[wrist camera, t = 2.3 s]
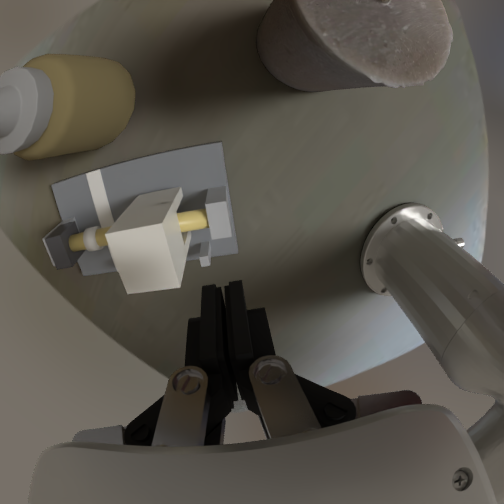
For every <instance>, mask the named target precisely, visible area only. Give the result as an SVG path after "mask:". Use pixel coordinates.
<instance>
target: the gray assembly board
mask: <svg viewBox="0 0 504 504" xmlns="http://www.w3.org/2000/svg"><path fill="white" fill-rule="evenodd" d="M51 186H52V189H53V193H54V196H55V200H56V203H57V206H58V209H59V212H60V216H61V219H62V222H60V223H59V224H58V225H57V226H56V227H55V228H54V229H53V230H51V231H50V232H49V233H48V234H47V235H46V236H45V237H44V238H43V242H44V244H45V247H46V249H47V252H48V254H49V256H50V259H51V261H52V263H53V266H56V268H57V270H58V269H63V268H69V267H73V266H74V264H75V263H76V262H77V261H78V264H79V266H80V268H81V271H82V273H83V275H84V276H88V275H95V274H101V273H108V272H115V271H117V272H118V269H117V267H116V264H115V261H114V259H113V256H112V253H111V250H110V248H109V245H108V242H107V239H106V236H105V233H106V232H107V231H108V230H109V229H110V227H111V226H112V225H113V224H114V223H115V222H116V220H117V219H118V218H119V217H120V216H121V215H122V213H123V212H124V211H125V210H126V209H127V208H128V207H129V205H130V204H131V203H132V202H133V201H134V200H135V199H136V198H137V197H138V196H139V195H142V194H147V193H151V192H156V191H161V190H166V189H171V188H177V187H181V188H182V193H183V198H182V200H181V202H180V204H179V207H178V209H177V211H176V212H177V217H178V221H179V225H180V229H181V232H186V231H191V240H190V244H189V249H188V253H187V258H186V261H188V260H195V259H200V263H201V267H204V266H210V262H211V257H215V256H222V255H229V254H235V253H238V246H237V239H236V233H235V227H234V220H233V214H232V207H231V201H230V194H229V188H228V181H227V174H226V168H225V161H224V154H223V147H222V141H219V142H213V143H207V144H201V145H195V146H190V147H185V148H180V149H175V150H170V151H165V152H160V153H156V154H152V155H147V156H143V157H139V158H135V159H131V160H127V161H123V162H120V163H116V164H113V165H109V166H105V167H102V168H99V169H95V170H92V171H89V172H86V173H83V174H79V175H76V176H73V177H70V178H67V179H65V180H62V181H59V182H56V183H54V184H53V185H51Z"/></svg>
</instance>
